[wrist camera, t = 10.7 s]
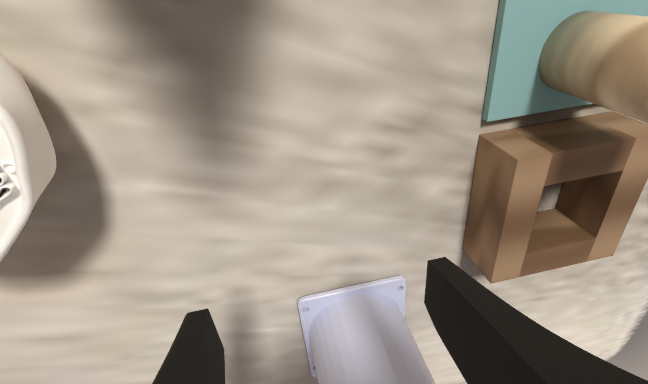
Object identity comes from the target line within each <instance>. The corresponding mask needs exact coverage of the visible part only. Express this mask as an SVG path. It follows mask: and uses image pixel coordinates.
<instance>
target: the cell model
mask: <svg viewBox="0 0 648 384" xmlns="http://www.w3.org/2000/svg"><path fill="white" fill-rule="evenodd" d="M55 171H56V155H55V150H54V147H53V144H52V141H51V138H50V135H49V133H48V130H47V128H46V125H45V123H44V121H43V119H42V117H41V114H40V112H39V110H38V108H37V106H36V104H35V101H34V99H33V97H32V95H31V93H30V91H29V89H28V86H27V85H26V83H25V81H24V79H23V78H22V76H21V75H20V73H19V72H18V70H17V69H16V68H15V67H14V66H13V65H12V63H11V62H10V61H9V60H8V59H7V58H6V57H4V56H3V55H2V54H1V53H0V262H1V261H2V260H3V258H4V257H5V256H6V254H7V253H8V252H9V250H10V249H11V247H12V246H13V244H14V243H15V241H16V239H17V238H18V236H19V235H20V233H21V231H22V230H23V228H24V227H25V225H26V223H27V221H28V219H29V217H30V215H31V212H32V210H33V208H34V206H35V204H36V202H37V200H38V198H39V197H40V195H41V194H42V192H43V191H44V189H45V188H46V186H47V185H48V184H49V182H50V181H51V179H52V178H53V176H54V173H55Z"/></svg>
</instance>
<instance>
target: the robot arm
mask: <svg viewBox="0 0 648 384" xmlns="http://www.w3.org/2000/svg"><path fill="white" fill-rule="evenodd" d="M406 284H407V282H406V279H405V277H404V276H401V275H399V276H394V277H390V278H385V279H381V280H376V281H371V282H367V283H362V284H358V285H353V286H349V287H344V288H340V289H335V290H331V291H326V292H322V293H317V294H312V295H308V296H303V297H301V298H300V299H299V300H298V302H297V303H298V309H299V314H300V319H301V324H302V329H303V335H304V340H305V345H306V350H307V355H308V360H309V365H310V370H311V376H312V377H314V378H317V379H318V384H435V382H434V380H433V378H432V375H431V373H430V371H429V369H428V367H427V365H426V363H425V361H424V359H423V357H422V355H421V352H420V350H419V348H418V346H417V344H416V342H415V340H414V338H413V336H412V334H411V332H410V329H409V327H408V325H407V323H406V321H405V308H406ZM399 286H400V287H399ZM424 303H425V305H426V308H427V310H428V313H429V315H430V317H431V319H432V322H433V324H434V326H435V328H436V330H437V332H438V334H439V336H440V338H441V339H442V341H443V343H444V345H445V346H446V348H447V350H448V351H449V353H450V355H451V357H452V358H453V360H454V362H455V363H456V365H457V367H458V368H459V370H460V372H461V374H462V375H463V377H464V379H465V380H466V382H467V384H648V381H647V380H644V379H642V378H640V377H638V376H635V375H633V374H631V373H629V372H627V371H625V370H623V369H620V368H618V367H616V366H614V365H612V364H610V363H608V362H606V361H604V360H602V359H600V358H598V357H596V356H594V355H592V354H590V353H589V352H587V351H585V350H583V349H581V348H579V347H577V346H575V345H574V344H572V343H570V342H568V341H567V340H565V339H563V338H561V337H560V336H558V335H556V334H554V333H553V332H551V331H549V330H548V329H546V328H544V327H543V326H541V325H539V324H538V323H536V322H535V321H533V320H532V319H530V318H528V317H527V316H525V315H524V314H522V313H521V312H519V311H518V310H516V309H515V308H513V307H512V306H510V305H509V304H508V303H506V302H505V301H503V300H502V299H501V298H499V297H498V296H496V295H495V294H493V293H492V292H491V291H489V290H488V289H487V288H485V287H484V286H483V285H481V284H480V283H479V282H477V281H476V280H475V279H473V278H472V277H471V276H469V275H468V274H467V273H465V272H464V271H463V270H462V269H460V268H459V267H458V266H456V265H455V264H454V263H452V262H451V261H450V260H448V259H447V258H446V257H443V258H438V259H434V260H429V261H428V265H427V277H426V289H425V301H424ZM305 307H307V308H305ZM152 384H225V361H224V348H223V345H222V343H221V340H220V338H219V335H218V332H217V330H216V327H215V325H214V322H213V320H212V317H211V315H210V312H209V310H208V309H204V310H199V311H194V312H190V313H187V315H186V316H185V318H184V320H183V322H182V325H181V327H180V329H179V331H178V333H177V336H176V338H175V340H174V342H173V344H172V346H171V348H170V350H169V352H168V354H167V356H166V358H165V360H164V362H163V364H162V366H161V368H160V370H159V372H158V374H157V376H156V378H155V379H154V381H153V383H152Z"/></svg>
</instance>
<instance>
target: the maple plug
mask: <svg viewBox="0 0 648 384" xmlns="http://www.w3.org/2000/svg"><path fill="white" fill-rule="evenodd" d="M539 74H540V77H541V80H542V81H543V83H544V84H545V85H546V86H548V87H550V88H552V89H555V90H557V91H560V92H563V93H566V94H569V95H571V96H574V97H577V98H580V99H582V100H585V101H588V102H591V103H594V104H596V105H599V106H602V107H605V108H607V109H610V110H613V111H616V112H619V113H621V114H624V115H627V116H630V117H632V118H635V119H638V120H641V121H644V122H646V123H648V16H638V15H627V14H617V13H607V12H597V11H582V12H578V13H575V14H573V15H571V16H569V17H568V18H566V19H565V20H563V21H562V22H561V23H560V24H559V25H558V26H557V27H556V28H555V29H554V30H553V31H552V33H551V34H550V35H549V37H548V38H547V40H546V42H545V44H544V46H543V48H542V51H541V54H540V58H539Z"/></svg>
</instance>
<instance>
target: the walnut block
mask: <svg viewBox="0 0 648 384" xmlns="http://www.w3.org/2000/svg"><path fill="white" fill-rule="evenodd" d="M647 179H648V124H646V123H643V122H640V121H637V120H635V119H632V118H629V117H626V116H624V115H621V114H618V113H615V112H613V111H612V112H606V113H601V114H595V115H589V116H584V117H578V118H572V119H567V120H561V121H555V122H550V123H544V124H538V125H533V126H527V127H521V128H516V129H510V130H504V131H499V132H493V133H487V134H482V135H480V136H479V143H478V150H477V156H476V163H475V170H474V177H473V183H472V190H471V197H470V203H469V210H468V217H467V223H466V230H465V237H464V243H463V250H464V251H465V252H466V254H467V255H468V256H469V257H470V259H471V260H472V261H473V262H474V264H475V265H476V266H477V267H478V268H479V270H480V271H481V272H482V273H483V275H484V276H485V277H486V278H487V279H488V281H489V282H490V283H495V282H500V281H504V280H508V279H513V278H517V277H521V276H526V275H530V274H535V273H539V272H543V271H548V270H552V269H556V268H561V267H565V266H569V265H574V264H578V263H582V262H587V261H591V260H595V259H600V258H604V257H608V256H613V254H614V252H615V250H616V248H617V245H618V243H619V241H620V239H621V236H622V234H623V232H624V230H625V227H626V225H627V223H628V221H629V219H630V216H631V214H632V212H633V210H634V207H635V205H636V203H637V201H638V199H639V196H640V194H641V192H642V190H643V187H644V185H645V183H646V181H647ZM562 182H564V183H563V186H562V190H561V193H560V196H559V199H558V203H557V206H556V209H552V210H547V211H542V212H537V209H538V206H539V202H540V199H541V195H542V191H543V188H544V186H547V185H552V184H557V183H562Z"/></svg>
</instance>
